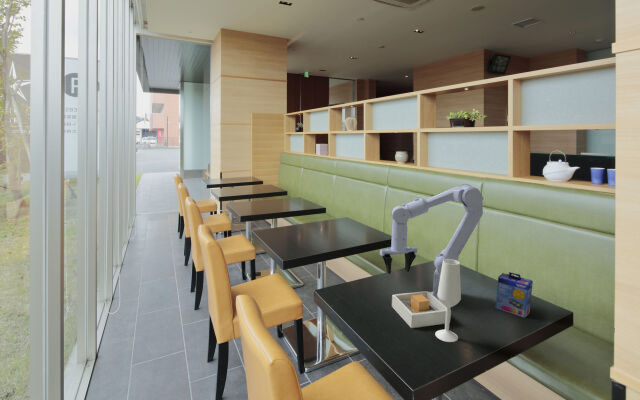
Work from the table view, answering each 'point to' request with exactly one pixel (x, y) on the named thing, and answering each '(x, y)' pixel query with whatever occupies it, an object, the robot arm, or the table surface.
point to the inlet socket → (408, 305)
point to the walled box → (419, 318)
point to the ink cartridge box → (514, 294)
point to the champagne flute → (449, 295)
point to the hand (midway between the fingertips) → (397, 271)
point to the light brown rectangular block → (419, 303)
